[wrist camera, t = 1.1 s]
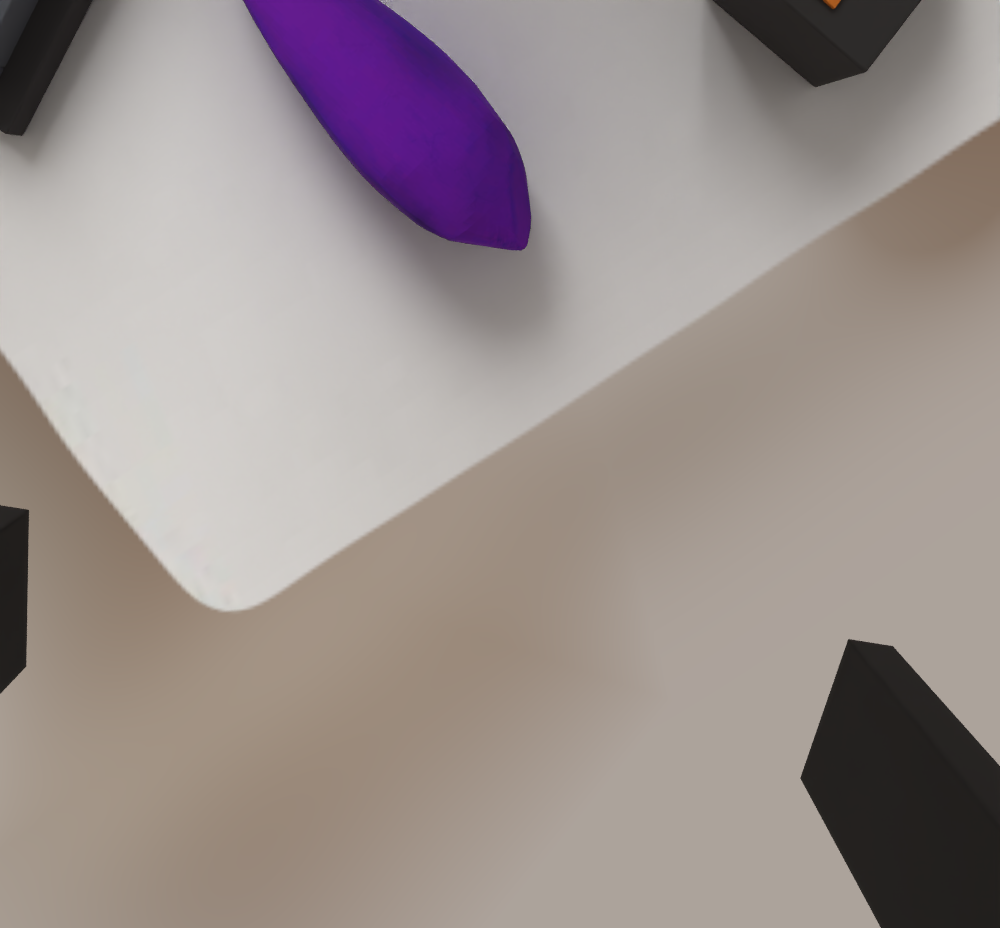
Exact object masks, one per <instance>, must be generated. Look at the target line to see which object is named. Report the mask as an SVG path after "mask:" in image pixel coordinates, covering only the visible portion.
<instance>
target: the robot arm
mask: <svg viewBox="0 0 1000 928" xmlns="http://www.w3.org/2000/svg"><path fill="white" fill-rule="evenodd" d="M28 527H29V510H26V509H20V508H13V507H6V506H1V505H0V693H1V692H2V691H3V690H4V689H5V688H6V687H7V686H8V685H9V684H10V683H11V682H12V681H13V680H14V679H15V678H16V677H17V676H18V674H19V673H20V672H21V671H22V670H23V669H24V668H25V667H26V645H27V643H26V642H27V584H28ZM801 780H802V782H803V784H804V786H805V788H806V789H807V791H808V793H809V795H810V797H811V799H812V801H813V802H814V804H815V806H816V808H817V810H818V812H819V814H820V815H821V817H822V819H823V821H824V823H825V824H826V827H827V828H828V830H829V832H830V834H831V836H832V838H833V839H834V841H835V843H836V845H837V847H838V849H839V851H840V853H841V854H842V856H843V858H844V860H845V862H846V864H847V865H848V867H849V869H850V871H851V873H852V875H853V877H854V879H855V880H856V882H857V884H858V886H859V888H860V890H861V892H862V893H863V895H864V897H865V899H866V901H867V903H868V905H869V906H870V908H871V910H872V912H873V914H874V916H875V918H876V919H877V921H878V923H879V925H880V927H881V928H1000V766H999V765H998V764H997V762H996V761H995V760H994V759H993V758H992V757H991V756H990V755H989V753H988V752H987V751H986V750H985V749H984V748H983V747H982V746H981V745H980V744H979V742H978V741H977V740H976V739H975V738H974V737H973V736H972V734H971V733H970V732H969V731H968V730H967V729H966V728H965V727H964V725H963V724H962V723H961V722H960V721H959V720H958V719H957V718H956V717H955V715H954V714H953V713H952V712H951V711H950V710H949V709H948V708H947V706H946V705H945V704H944V703H943V702H942V701H941V700H940V699H939V697H937V695H936V694H935V693H934V692H933V691H932V690H931V689H930V687H929V686H928V685H927V684H926V683H925V682H924V681H923V680H922V678H921V677H920V676H919V675H918V674H917V673H916V672H915V671H914V670H913V668H912V667H911V666H910V665H909V664H908V663H907V662H906V661H905V660H904V658H903V657H902V656H901V655H900V654H899V653H898V652H897V651H896V649H895V648H894V647H893V646H888V645H882V644H875V643H869V642H863V641H856V640H850V639H849V640H848V642H847V645H846V648H845V651H844V654H843V656H842V659H841V662H840V665H839V668H838V671H837V674H836V677H835V679H834V683H833V685H832V688H831V691H830V694H829V697H828V700H827V703H826V705H825V708H824V711H823V714H822V717H821V720H820V723H819V726H818V729H817V732H816V735H815V737H814V741H813V743H812V746H811V749H810V752H809V755H808V758H807V761H806V763H805V766H804V769H803V772H802V775H801Z"/></svg>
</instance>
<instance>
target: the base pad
mask: <svg viewBox="0 0 1000 928" xmlns="http://www.w3.org/2000/svg"><path fill="white" fill-rule="evenodd" d="M91 2H92V0H0V130H1V131H2V132H4V133H5V134H11V135H20V136H22V135H23V134H24V132H25V130H26V128H27V126H28V124H29V122H30V120H31V118H32V117H33V115H34V113H35V111H36V109H37V107H38V105H39V103H40V101H41V99H42V97H43V95H44V93H45V91H46V89H47V88H48V86H49V84H50V82H51V80H52V78H53V76H54V74H55V72H56V70H57V68H58V66H59V64H60V62H61V60H62V58H63V57H64V55H65V53H66V51H67V49H68V47H69V45H70V43H71V41H72V39H73V37H74V35H75V33H76V31H77V29H78V28H79V26H80V24H81V22H82V20H83V18H84V16H85V14H86V12H87V10H88V8H89V6H90V4H91Z"/></svg>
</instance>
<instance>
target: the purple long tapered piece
mask: <svg viewBox="0 0 1000 928" xmlns="http://www.w3.org/2000/svg"><path fill="white" fill-rule="evenodd" d="M243 1H244V3H245V5H246V7H247V8H248V10H249V12H250V14H251V16H252V18H253V20H254V21H255V23H256V25H257V27H258V28H259V30H260V32H261V33H262V35H263V37H264V39H265V40H266V42H267V43H268V45H269V47H270V48H271V50H272V52H273V53H274V55H275V57H276V58H277V60H278V61H279V63H280V65H281V66H282V68H283V69H284V71H285V72H286V74H287V75H288V77H289V78H290V80H291V81H292V83H293V84H294V86H295V87H296V88H297V90H298V91H299V93H300V94H301V96H302V97H303V99H304V100H305V102H306V103H307V104H308V106H309V107H310V109H311V110H312V112H313V113H314V115H315V116H316V117H317V119H318V120H319V122H320V123H321V125H322V126H323V127H324V129H325V130H326V131H327V133H328V134H329V136H330V137H331V138H332V140H333V141H334V142H335V144H336V145H337V146H338V147H339V149H340V150H341V151H342V152H343V154H344V155H345V156H346V157H347V159H348V160H349V161H350V162H351V163H352V165H353V166H354V167H355V168H356V169H357V170H358V171H359V173H360V174H361V175H362V176H363V177H364V178H365V179H366V180H367V181H368V182H369V183H370V184H371V185H372V186H373V187H374V188H375V189H376V190H377V191H378V192H379V193H380V194H381V195H383V196H384V197H385V198H386V199H387V200H388V201H389V202H391V203H392V204H393V205H394V206H395V207H396V208H398V209H399V210H400V211H401V212H402V213H404V214H405V215H406V216H407V217H409V218H410V219H411V220H412V221H414V222H415V223H416V224H418V225H419V226H421V227H423V228H424V229H426V230H428V231H430V232H432V233H434V234H436V235H438V236H440V237H442V238H445V239H447V240H450V241H455V242H461V243H467V244H474V245H481V246H487V247H494V248H500V249H507V250H520V251H521V250H523V249H525V247H526V246H527V244H528V239H529V233H530V228H531V212H530V203H529V194H528V186H527V179H526V173H525V167H524V164H523V161H522V158H521V155H520V152H519V150H518V147H517V145H516V143H515V140H514V138H513V137H512V135H511V133H510V131H509V130H508V129H507V127H506V126H505V124H504V123H503V122H502V120H501V119H500V117H499V116H498V115H497V113H496V112H495V111H494V109H493V108H492V106H491V105H490V104H489V102H488V101H487V100H486V98H485V97H484V96H483V94H482V93H481V91H480V90H479V89H478V87H477V86H476V85H475V84H474V82H473V81H472V80H471V79H470V78H469V77H468V76H467V75H466V74H465V73H464V72H463V71H462V70H461V69H460V68H459V67H458V66H457V65H456V64H455V63H454V62H453V61H452V60H451V58H450V57H449V56H448V55H447V54H446V53H444V52H443V51H442V50H441V49H440V48H439V47H438V46H436V45H435V44H434V43H433V42H432V41H431V40H430V39H428V38H427V37H426V36H425V35H424V34H422V33H421V32H420V31H419V30H417V29H416V28H415V27H414V26H412V25H411V24H410V23H409V22H407V21H406V20H405V19H403V18H402V17H401V16H399V15H398V14H397V13H395V12H394V11H393V10H391V9H390V8H388V7H387V6H386V5H384V4H383V3H381V2H380V1H379V0H243Z"/></svg>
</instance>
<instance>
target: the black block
mask: <svg viewBox="0 0 1000 928" xmlns="http://www.w3.org/2000/svg"><path fill="white" fill-rule="evenodd" d="M713 1H714V2H716V3H717V4H718V5H719V6H720V7H721V8H723V9H724V10H725V11H726V12H727V13H728V14H730V15H731V16H732V17H733V18H734V19H735V20H737V21H738V22H739V23H740V24H741V25H743V26H744V27H745V28H746V29H747V30H748V31H750V32H751V33H752V34H753V35H754V36H755V37H757V38H758V39H759V40H760V41H761V42H762V43H764V44H765V45H766V46H767V47H768V48H769V49H771V50H772V51H773V52H774V53H775V54H777V55H778V56H779V57H780V58H781V59H782V60H784V61H785V62H786V63H787V64H788V65H789V66H791V67H792V68H793V69H794V70H795V71H796V72H798V73H799V74H800V75H801V76H802V77H803V78H805V79H806V80H807V81H808V82H809V83H811V84H812V85H813V86H814V87H818V86H821V85H825V84H828V83H831V82H834V81H838V80H841V79H844V78H848V77H851V76H854V75H857V74H861V73H864V72H866V71H867V70H868V69H869V68H870V66H871V65H872V64H873V62H874V61H875V60H876V58H877V57H878V56H879V55H880V53H881V52H882V51H883V49H884V48H885V47H886V45H887V44H888V43H889V42H890V40H891V39H892V38H893V36H894V35H895V34H896V32H897V31H898V30H899V29H900V27H901V26H902V25H903V23H904V22H905V21H906V19H907V18H908V17H909V16H910V14H911V13H912V12H913V10H914V9H915V8H916V6H917V5H918V4H919V3H920V1H921V0H713Z"/></svg>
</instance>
